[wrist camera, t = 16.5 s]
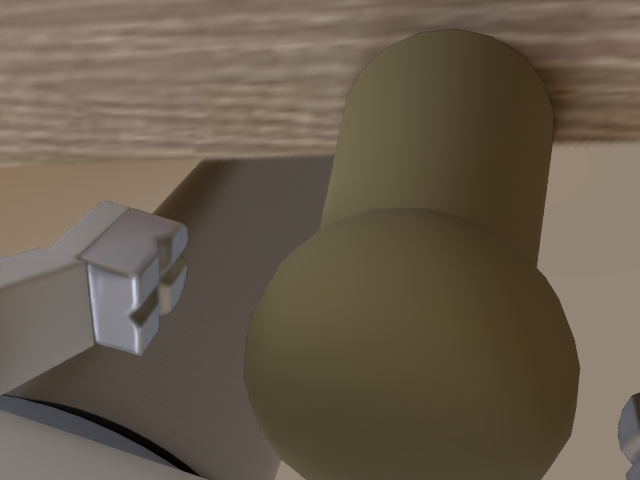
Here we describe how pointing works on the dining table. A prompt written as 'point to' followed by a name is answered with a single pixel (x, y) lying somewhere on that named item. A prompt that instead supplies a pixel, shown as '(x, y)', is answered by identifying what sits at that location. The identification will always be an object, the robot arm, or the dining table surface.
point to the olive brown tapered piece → (423, 283)
